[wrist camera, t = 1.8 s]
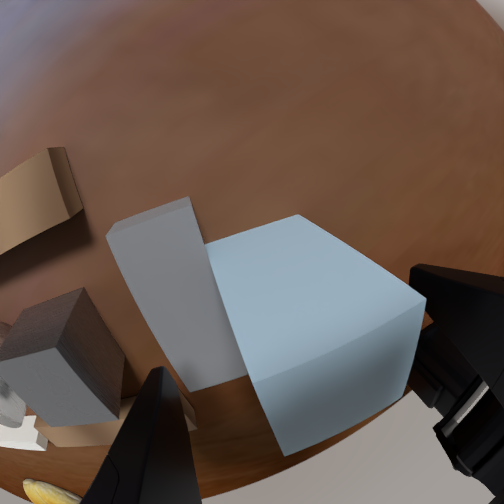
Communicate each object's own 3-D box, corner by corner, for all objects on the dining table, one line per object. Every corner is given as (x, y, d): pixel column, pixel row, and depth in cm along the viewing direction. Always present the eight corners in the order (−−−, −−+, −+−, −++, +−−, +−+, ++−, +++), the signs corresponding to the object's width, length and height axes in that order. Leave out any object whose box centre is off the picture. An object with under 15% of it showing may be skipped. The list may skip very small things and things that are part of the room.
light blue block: (288, 167, 10) (434, 210, 4) (314, 323, 14) (392, 423, 8) (114, 222, 9) (40, 346, 3) (186, 369, 13) (210, 495, 6)
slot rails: (63, 147, 8) (47, 148, 6) (194, 409, 14) (197, 429, 13) (-69, 245, 6) (-84, 256, 5) (59, 430, 12) (57, 446, 11)
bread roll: (95, 503, 19) (96, 525, 16) (48, 494, 17) (48, 514, 14) (62, 482, 16) (61, 509, 12) (14, 471, 14) (11, 494, 10)
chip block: (84, 286, 10) (55, 347, 6) (125, 353, 12) (119, 420, 8) (24, 308, 9) (-9, 363, 6) (66, 368, 11) (50, 426, 7)
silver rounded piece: (12, 313, 9) (-21, 366, 6) (53, 372, 11) (37, 428, 7) (-24, 328, 8) (-52, 373, 5) (14, 379, 10) (-4, 427, 7)
